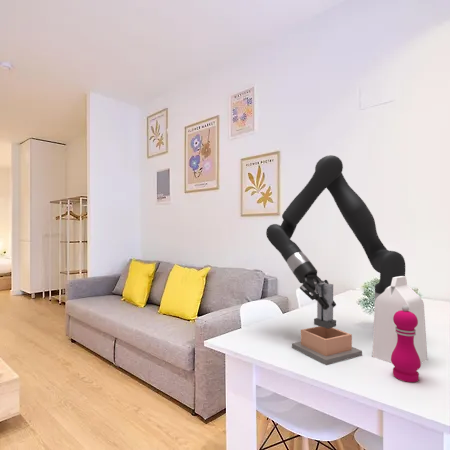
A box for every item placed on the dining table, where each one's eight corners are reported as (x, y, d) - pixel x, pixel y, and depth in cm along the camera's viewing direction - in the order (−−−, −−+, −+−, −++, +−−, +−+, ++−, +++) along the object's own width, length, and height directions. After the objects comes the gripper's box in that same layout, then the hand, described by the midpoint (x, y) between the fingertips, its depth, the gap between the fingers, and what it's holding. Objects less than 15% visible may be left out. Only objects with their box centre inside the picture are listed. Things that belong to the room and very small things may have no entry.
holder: (325, 340, 118) (325, 322, 118) (362, 355, 104) (361, 335, 104) (291, 347, 110) (291, 328, 110) (326, 365, 96) (325, 343, 96)
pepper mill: (394, 368, 94) (393, 301, 94) (422, 376, 89) (422, 304, 89) (388, 377, 88) (388, 305, 88) (418, 386, 83) (418, 309, 84)
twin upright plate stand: (321, 322, 111) (322, 282, 111) (336, 326, 106) (336, 284, 106) (314, 324, 108) (314, 283, 108) (328, 328, 104) (328, 285, 104)
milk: (410, 369, 93) (409, 281, 94) (372, 356, 103) (372, 276, 103) (427, 359, 100) (427, 277, 101) (390, 348, 110) (390, 273, 110)
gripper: (294, 261, 109) (325, 304, 99) (319, 259, 118) (349, 298, 108) (282, 275, 113) (310, 317, 103) (307, 272, 122) (335, 310, 112)
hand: (330, 307), depth 106 cm, fingers closed on twin upright plate stand, 3 cm apart
